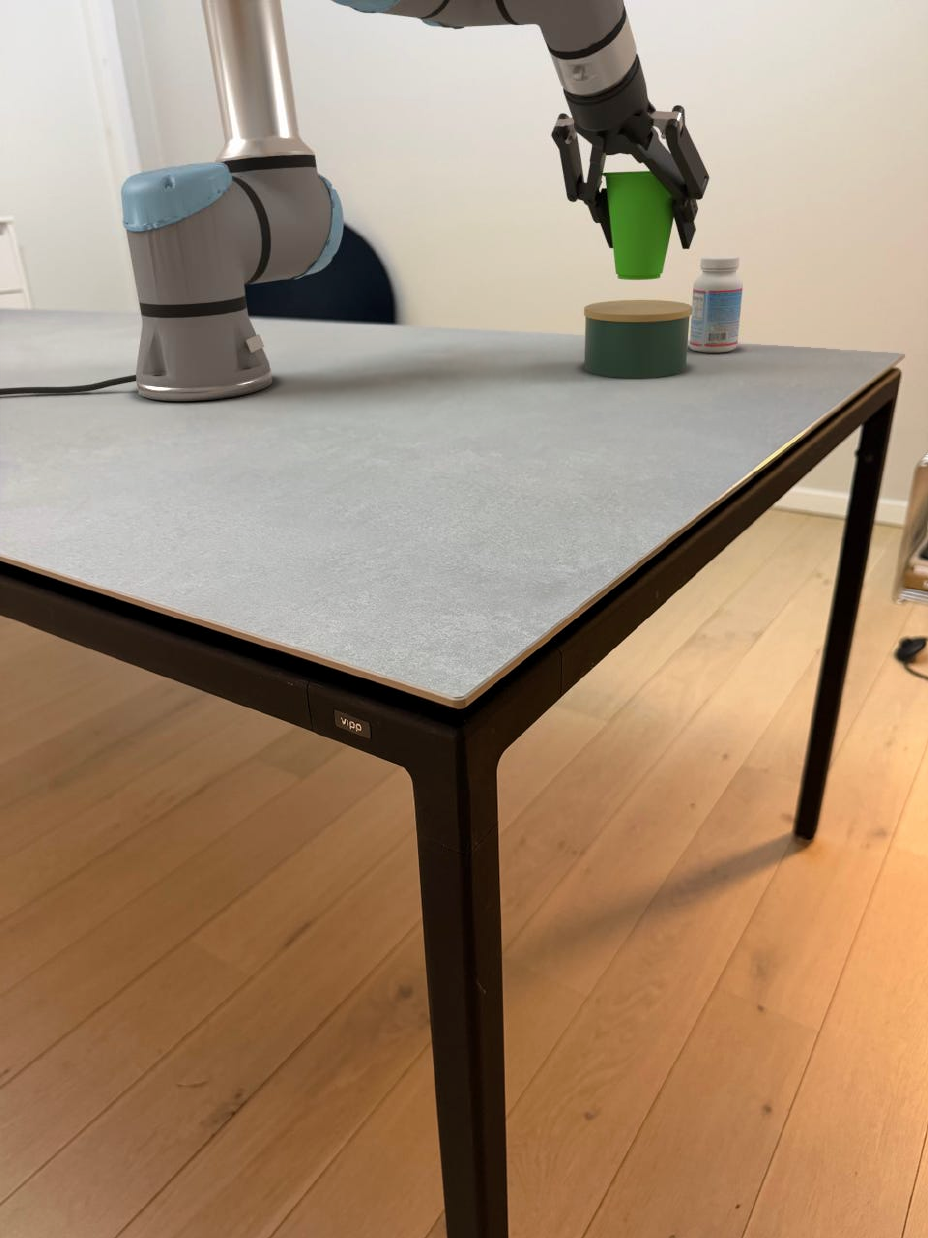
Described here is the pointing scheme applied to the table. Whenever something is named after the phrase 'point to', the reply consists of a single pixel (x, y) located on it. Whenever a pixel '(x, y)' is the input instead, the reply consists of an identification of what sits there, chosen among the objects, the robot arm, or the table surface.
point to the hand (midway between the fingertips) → (651, 238)
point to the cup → (639, 223)
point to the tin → (636, 338)
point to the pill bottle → (716, 305)
